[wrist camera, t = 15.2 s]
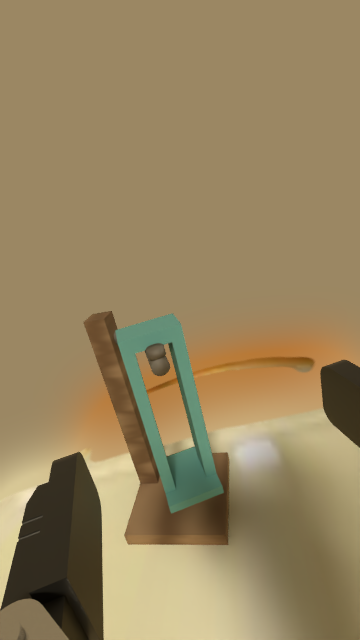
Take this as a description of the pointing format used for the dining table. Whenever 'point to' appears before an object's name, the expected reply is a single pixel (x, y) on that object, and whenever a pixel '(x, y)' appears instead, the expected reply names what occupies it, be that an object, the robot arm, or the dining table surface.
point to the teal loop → (197, 462)
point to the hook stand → (151, 502)
